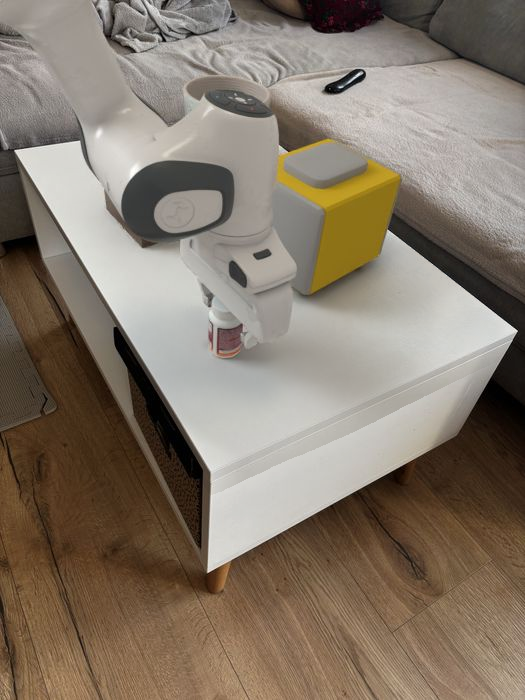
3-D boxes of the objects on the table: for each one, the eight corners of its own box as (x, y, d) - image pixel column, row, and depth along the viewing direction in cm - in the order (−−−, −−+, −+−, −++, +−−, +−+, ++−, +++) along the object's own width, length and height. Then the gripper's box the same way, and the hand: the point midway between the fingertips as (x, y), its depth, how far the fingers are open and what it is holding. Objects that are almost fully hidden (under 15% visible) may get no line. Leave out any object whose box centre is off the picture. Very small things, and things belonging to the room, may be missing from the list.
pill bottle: (247, 344, 78) (252, 300, 72) (228, 364, 75) (231, 319, 69) (220, 330, 80) (222, 285, 74) (200, 349, 77) (201, 304, 71)
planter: (168, 156, 117) (166, 81, 106) (233, 141, 125) (237, 69, 114) (213, 192, 108) (215, 114, 97) (279, 173, 116) (288, 99, 105)
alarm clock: (314, 223, 103) (332, 126, 90) (380, 264, 96) (409, 164, 83) (236, 259, 93) (243, 155, 80) (302, 308, 85) (322, 202, 72)
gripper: (166, 202, 69) (170, 288, 78) (261, 292, 58) (252, 379, 67) (209, 190, 72) (208, 275, 81) (307, 274, 61) (292, 360, 70)
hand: (228, 323), depth 74 cm, fingers open, 8 cm apart
